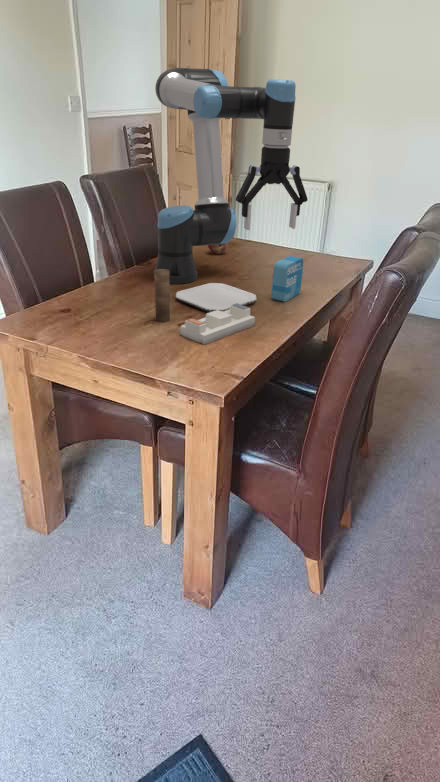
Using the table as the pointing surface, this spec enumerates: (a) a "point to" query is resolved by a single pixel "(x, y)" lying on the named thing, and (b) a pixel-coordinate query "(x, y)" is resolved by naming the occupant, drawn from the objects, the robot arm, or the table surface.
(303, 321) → the table surface
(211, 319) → the socket block
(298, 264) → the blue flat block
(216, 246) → the fruit
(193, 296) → the plate
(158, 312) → the dowel
